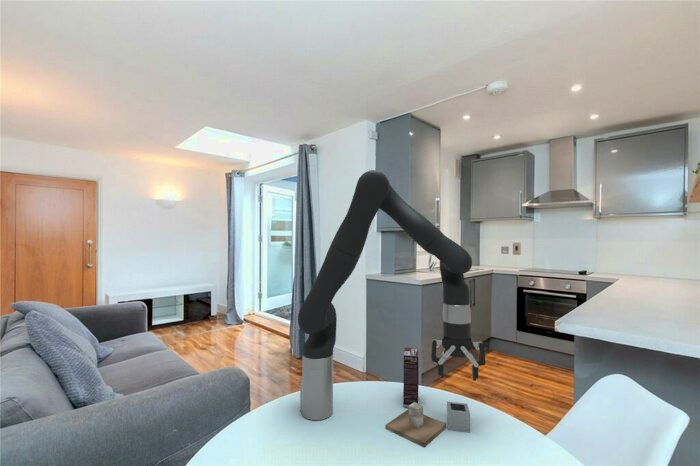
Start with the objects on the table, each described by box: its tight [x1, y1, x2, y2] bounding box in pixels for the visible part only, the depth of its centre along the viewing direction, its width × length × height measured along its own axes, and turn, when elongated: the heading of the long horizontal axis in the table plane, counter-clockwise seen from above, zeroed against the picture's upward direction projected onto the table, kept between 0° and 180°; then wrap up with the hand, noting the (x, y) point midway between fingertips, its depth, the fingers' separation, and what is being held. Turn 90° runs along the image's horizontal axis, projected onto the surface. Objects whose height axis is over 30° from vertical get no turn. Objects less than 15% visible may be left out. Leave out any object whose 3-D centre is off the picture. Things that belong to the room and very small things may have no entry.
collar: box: [446, 401, 471, 434], centre depth 88 cm, size 6×6×5 cm
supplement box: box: [402, 347, 420, 409], centre depth 102 cm, size 9×5×16 cm, turn 168°
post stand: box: [384, 402, 448, 448], centre depth 87 cm, size 12×12×6 cm
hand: (458, 378), depth 89 cm, fingers open, 8 cm apart
